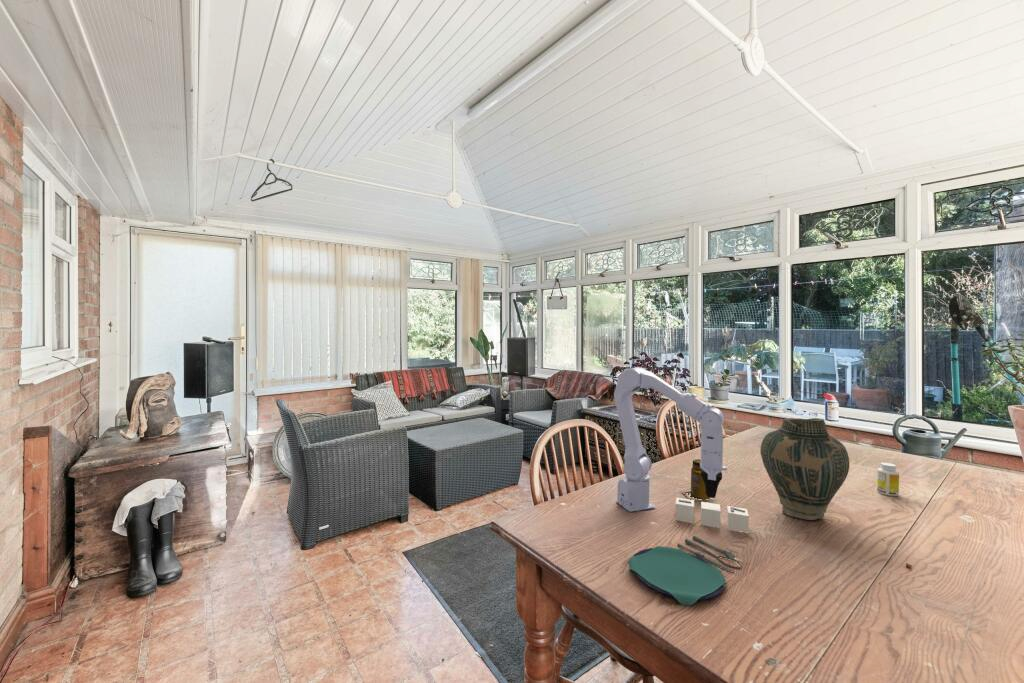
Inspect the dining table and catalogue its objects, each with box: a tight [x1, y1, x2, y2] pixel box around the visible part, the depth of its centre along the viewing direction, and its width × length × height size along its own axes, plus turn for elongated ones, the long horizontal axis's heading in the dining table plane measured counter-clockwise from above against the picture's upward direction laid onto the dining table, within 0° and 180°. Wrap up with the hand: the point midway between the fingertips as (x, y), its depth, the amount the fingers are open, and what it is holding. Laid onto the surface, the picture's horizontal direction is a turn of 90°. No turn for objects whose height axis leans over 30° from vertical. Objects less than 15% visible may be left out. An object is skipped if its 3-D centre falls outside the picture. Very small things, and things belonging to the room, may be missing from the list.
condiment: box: [680, 459, 717, 502], centre depth 140 cm, size 7×8×12 cm
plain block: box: [700, 501, 722, 529], centre depth 121 cm, size 5×5×5 cm
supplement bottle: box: [876, 462, 900, 497], centre depth 143 cm, size 6×6×10 cm
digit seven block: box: [726, 505, 750, 533], centre depth 118 cm, size 5×5×5 cm
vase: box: [760, 417, 850, 521], centre depth 126 cm, size 22×22×30 cm
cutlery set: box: [628, 535, 743, 606], centre depth 97 cm, size 20×30×2 cm, turn 123°
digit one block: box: [674, 497, 695, 524], centre depth 124 cm, size 5×5×5 cm
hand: (710, 496), depth 120 cm, fingers closed
